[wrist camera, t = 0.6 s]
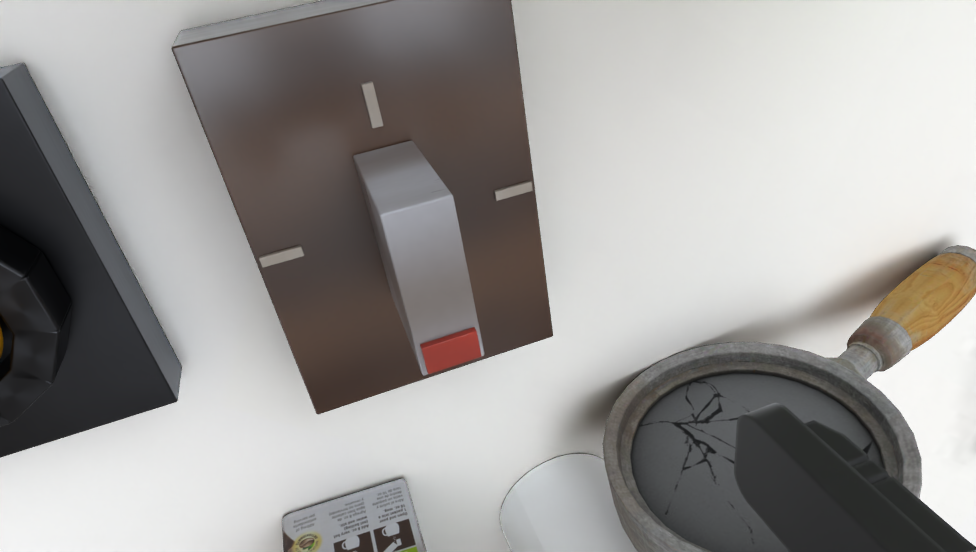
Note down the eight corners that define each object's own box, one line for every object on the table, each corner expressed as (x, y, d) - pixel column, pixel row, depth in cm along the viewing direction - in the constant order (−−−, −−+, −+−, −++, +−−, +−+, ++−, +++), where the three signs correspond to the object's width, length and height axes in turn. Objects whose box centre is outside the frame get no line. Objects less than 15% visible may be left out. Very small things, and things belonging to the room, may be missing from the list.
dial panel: (179, 30, 20) (170, 48, 18) (478, -33, 22) (510, -26, 20) (310, 370, 28) (317, 418, 25) (527, 300, 30) (555, 338, 27)
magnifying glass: (1121, 283, 31) (790, 653, 22) (1105, 331, 32) (790, 695, 23) (852, 210, 41) (547, 445, 32) (849, 250, 42) (559, 484, 33)
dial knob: (352, 155, 21) (381, 218, 17) (412, 139, 21) (455, 197, 17) (391, 295, 24) (424, 381, 20) (443, 280, 24) (487, 360, 20)
